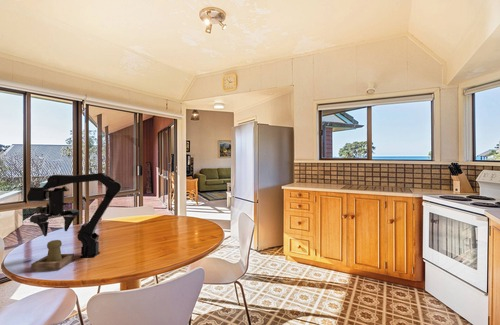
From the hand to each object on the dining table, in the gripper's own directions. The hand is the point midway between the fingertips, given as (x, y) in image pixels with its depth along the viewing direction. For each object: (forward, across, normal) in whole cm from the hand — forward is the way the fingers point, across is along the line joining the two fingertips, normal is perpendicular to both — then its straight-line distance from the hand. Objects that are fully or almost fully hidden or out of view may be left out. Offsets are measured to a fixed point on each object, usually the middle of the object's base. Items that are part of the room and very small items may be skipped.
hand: (55, 233), depth 117 cm
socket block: (+12, +5, +7) cm, 15 cm away
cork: (+12, +5, +7) cm, 15 cm away
